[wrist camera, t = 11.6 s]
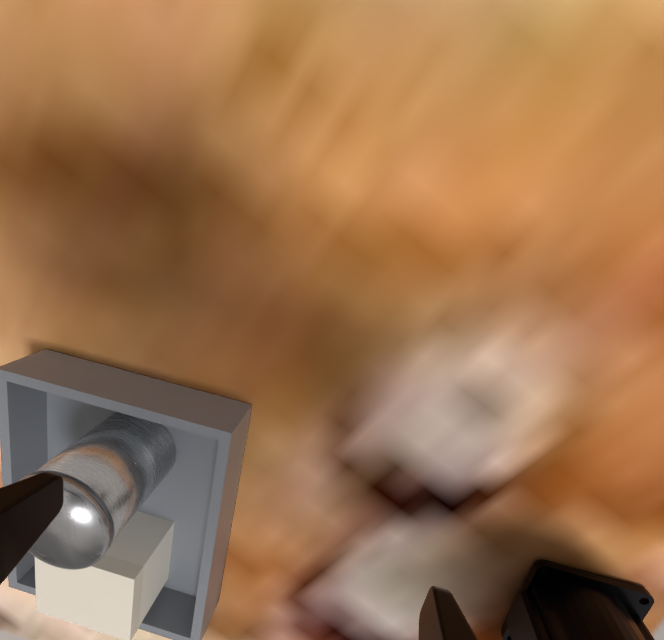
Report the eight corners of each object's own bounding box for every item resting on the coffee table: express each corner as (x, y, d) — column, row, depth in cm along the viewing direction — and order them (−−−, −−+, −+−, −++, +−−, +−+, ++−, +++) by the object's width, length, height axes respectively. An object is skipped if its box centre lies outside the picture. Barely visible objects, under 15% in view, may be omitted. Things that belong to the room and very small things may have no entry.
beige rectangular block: (174, 521, 24) (134, 579, 20) (168, 578, 25) (129, 642, 21) (89, 496, 24) (34, 548, 20) (87, 553, 26) (36, 611, 22)
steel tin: (175, 490, 23) (106, 581, 17) (98, 470, 24) (7, 552, 18) (180, 420, 22) (106, 495, 16) (98, 399, 22) (-2, 465, 16)
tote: (252, 404, 21) (231, 433, 19) (218, 600, 26) (198, 647, 23) (45, 349, 22) (-4, 368, 19) (48, 547, 27) (8, 586, 24)
